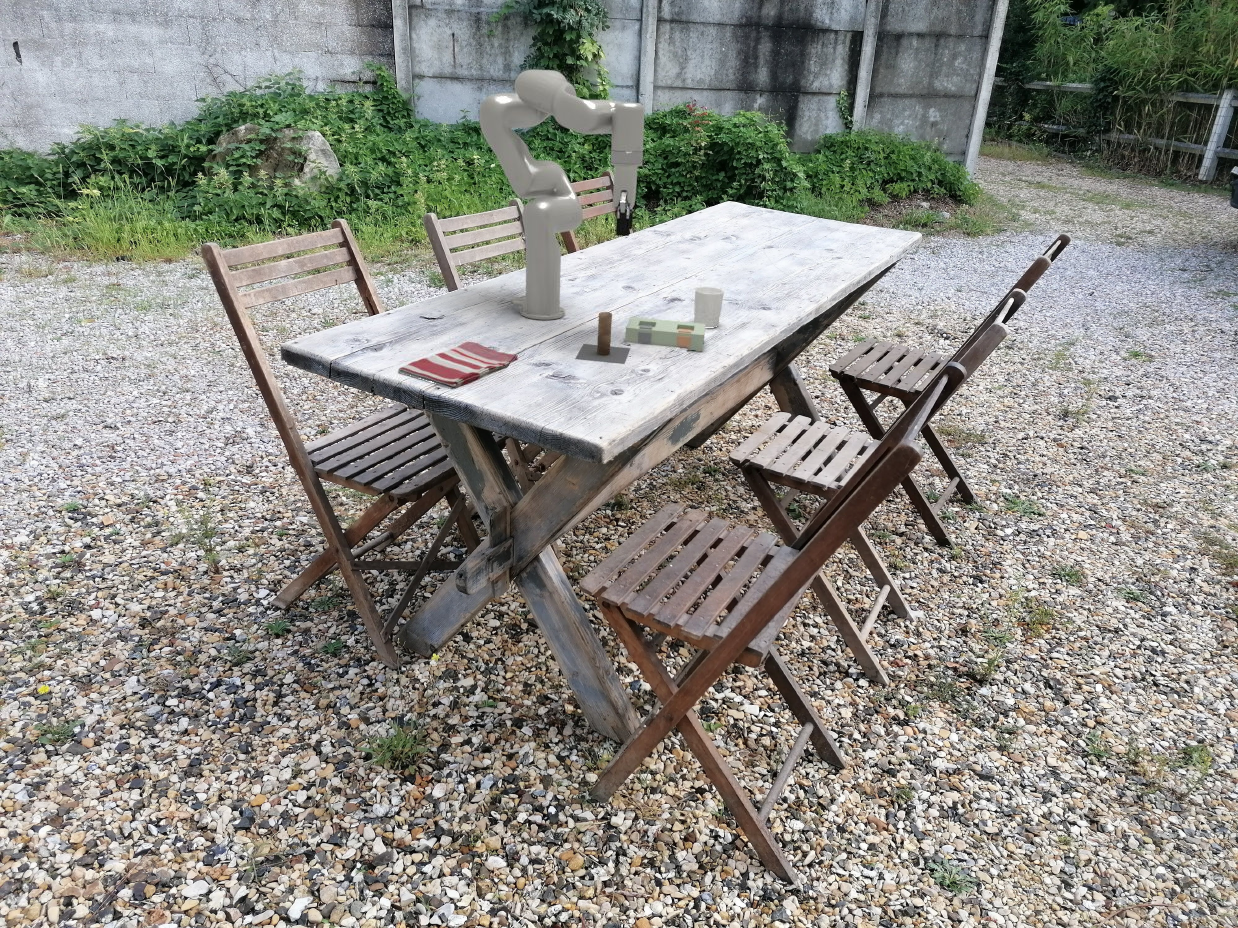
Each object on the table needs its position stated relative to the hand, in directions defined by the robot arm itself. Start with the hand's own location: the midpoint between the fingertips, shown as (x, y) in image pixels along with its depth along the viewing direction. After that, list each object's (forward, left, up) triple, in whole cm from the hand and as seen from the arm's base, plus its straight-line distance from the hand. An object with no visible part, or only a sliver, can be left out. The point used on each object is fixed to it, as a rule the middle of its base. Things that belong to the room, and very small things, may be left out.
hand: (624, 232), depth 206 cm
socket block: (+12, +1, -28) cm, 30 cm away
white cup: (+22, +20, -28) cm, 41 cm away
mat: (-2, -15, -28) cm, 31 cm away
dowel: (-2, -15, -27) cm, 31 cm away
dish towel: (-33, -32, -28) cm, 54 cm away
